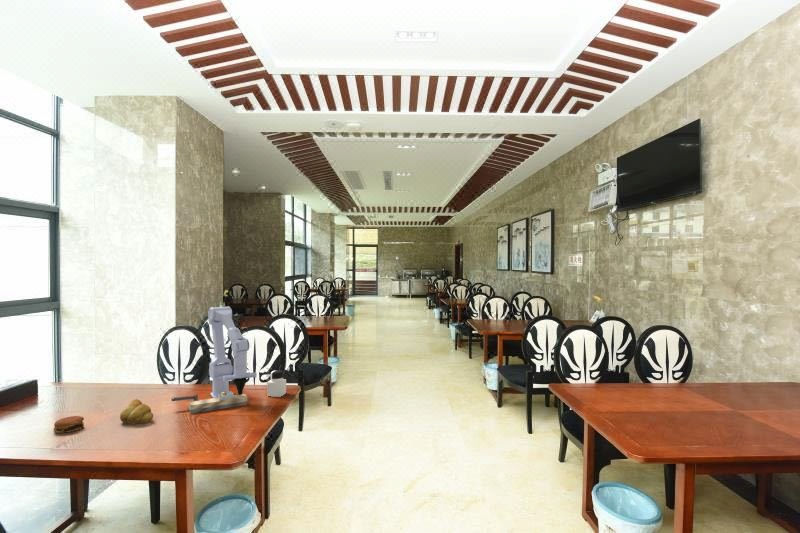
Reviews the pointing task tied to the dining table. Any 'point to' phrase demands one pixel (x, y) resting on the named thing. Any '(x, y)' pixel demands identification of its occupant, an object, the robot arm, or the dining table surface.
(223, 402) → the plane body
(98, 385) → the dining table surface
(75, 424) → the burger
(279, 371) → the grey padlock
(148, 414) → the bread roll
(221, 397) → the lever cap
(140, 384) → the dining table surface
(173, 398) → the lever
